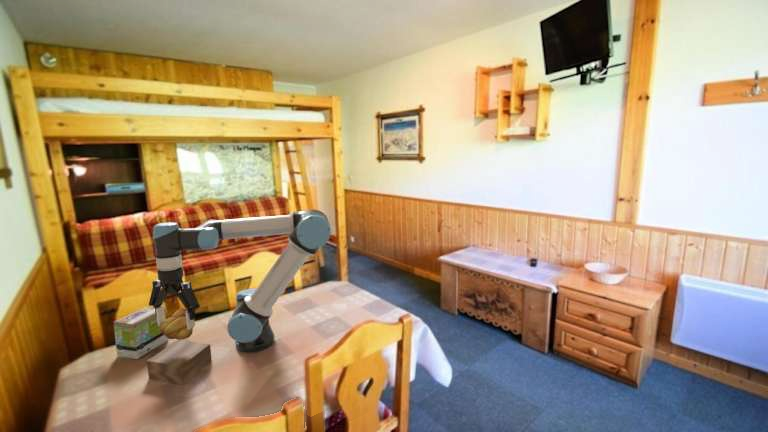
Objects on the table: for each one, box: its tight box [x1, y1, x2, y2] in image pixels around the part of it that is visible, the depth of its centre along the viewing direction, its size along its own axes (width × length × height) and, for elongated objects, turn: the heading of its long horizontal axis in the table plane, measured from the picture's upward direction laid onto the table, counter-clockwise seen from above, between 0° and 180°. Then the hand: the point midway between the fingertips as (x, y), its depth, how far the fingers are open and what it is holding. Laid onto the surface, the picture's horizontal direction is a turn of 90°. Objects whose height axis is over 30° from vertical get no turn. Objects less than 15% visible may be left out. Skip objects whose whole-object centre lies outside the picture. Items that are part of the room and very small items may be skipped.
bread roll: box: [160, 307, 194, 341], centre depth 122 cm, size 13×10×8 cm
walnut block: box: [146, 339, 212, 386], centre depth 125 cm, size 14×14×7 cm
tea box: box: [113, 305, 170, 360], centre depth 138 cm, size 15×10×15 cm
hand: (176, 325), depth 122 cm, fingers closed on bread roll, 12 cm apart
